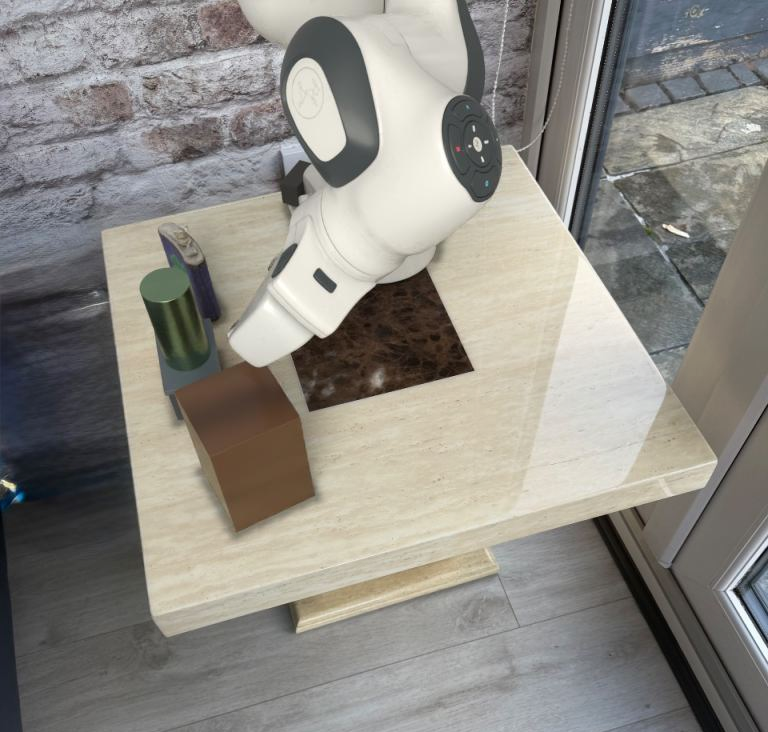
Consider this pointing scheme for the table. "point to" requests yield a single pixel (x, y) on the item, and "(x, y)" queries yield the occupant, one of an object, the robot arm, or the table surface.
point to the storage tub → (182, 378)
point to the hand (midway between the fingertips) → (256, 302)
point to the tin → (175, 318)
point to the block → (247, 442)
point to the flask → (190, 267)
